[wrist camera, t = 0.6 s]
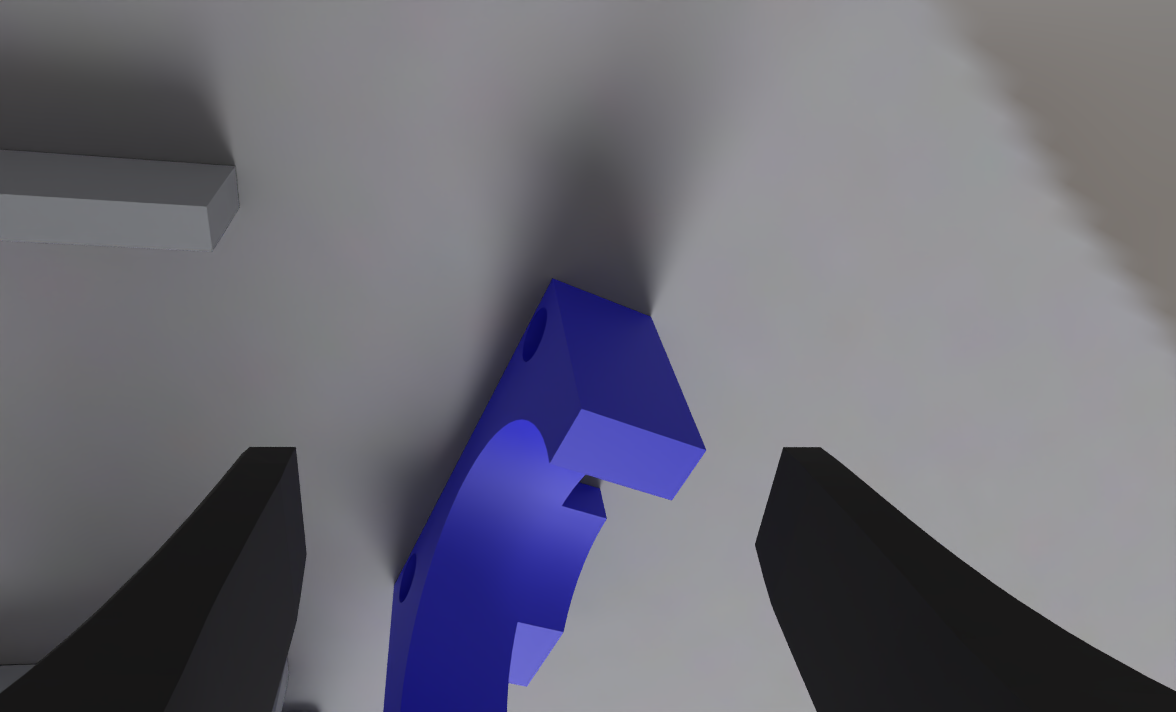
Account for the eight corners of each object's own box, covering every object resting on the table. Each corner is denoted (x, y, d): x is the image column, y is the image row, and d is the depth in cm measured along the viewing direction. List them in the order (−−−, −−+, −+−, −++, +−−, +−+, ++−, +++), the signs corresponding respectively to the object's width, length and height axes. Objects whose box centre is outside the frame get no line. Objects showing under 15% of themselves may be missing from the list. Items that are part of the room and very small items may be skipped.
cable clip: (520, 610, 28) (534, 778, 23) (394, 582, 26) (379, 755, 21) (695, 331, 23) (763, 469, 18) (552, 276, 21) (581, 408, 16)
